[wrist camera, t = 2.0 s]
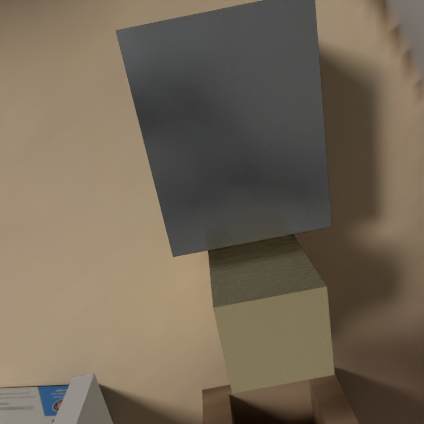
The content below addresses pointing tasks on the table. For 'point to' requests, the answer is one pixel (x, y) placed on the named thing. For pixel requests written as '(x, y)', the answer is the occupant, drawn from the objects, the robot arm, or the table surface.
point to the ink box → (30, 404)
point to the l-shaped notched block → (270, 313)
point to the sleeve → (232, 122)
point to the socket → (280, 404)
